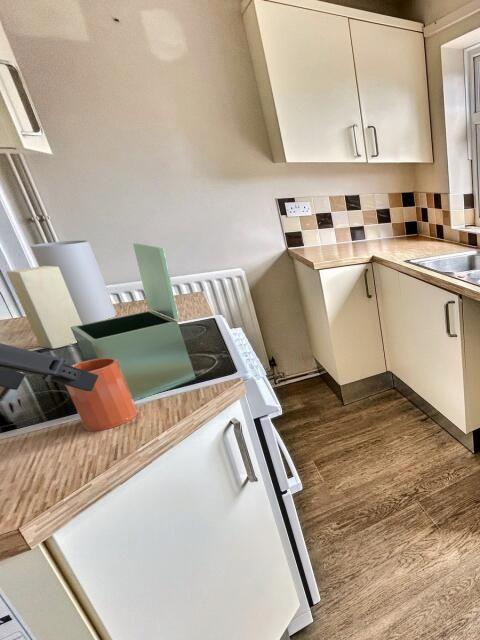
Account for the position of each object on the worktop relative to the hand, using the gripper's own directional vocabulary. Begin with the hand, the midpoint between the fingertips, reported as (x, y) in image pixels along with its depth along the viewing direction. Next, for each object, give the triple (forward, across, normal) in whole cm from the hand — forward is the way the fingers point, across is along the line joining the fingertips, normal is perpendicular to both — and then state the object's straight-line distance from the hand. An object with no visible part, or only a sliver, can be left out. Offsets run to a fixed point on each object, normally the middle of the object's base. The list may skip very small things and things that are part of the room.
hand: (56, 382), depth 69 cm
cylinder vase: (+51, -68, +36) cm, 92 cm away
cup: (+11, 0, -4) cm, 12 cm away
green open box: (+22, -7, +7) cm, 24 cm away
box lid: (+11, -4, +26) cm, 29 cm away
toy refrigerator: (+38, -55, +23) cm, 71 cm away
